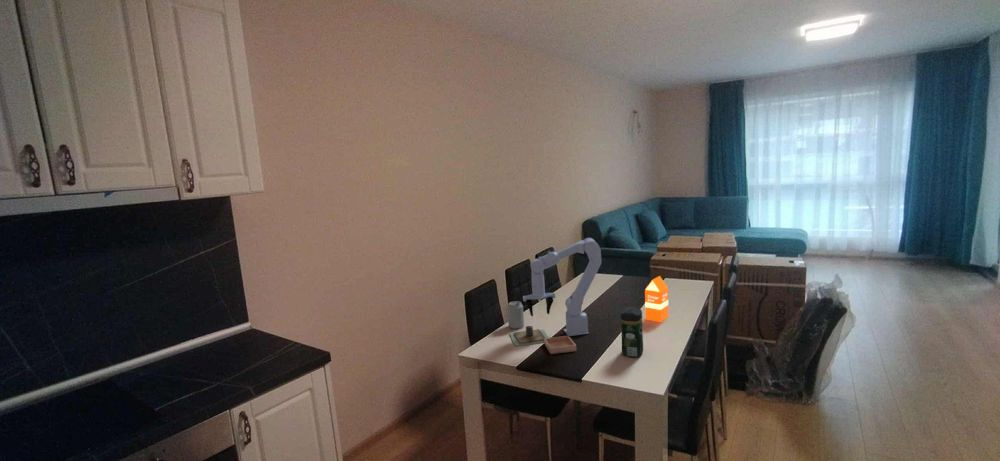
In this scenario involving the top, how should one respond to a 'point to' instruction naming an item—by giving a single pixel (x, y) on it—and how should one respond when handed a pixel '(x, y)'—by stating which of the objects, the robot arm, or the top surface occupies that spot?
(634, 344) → the coffee jar
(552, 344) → the pink square tray
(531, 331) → the cover
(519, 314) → the can
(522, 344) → the mat
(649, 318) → the orange juice
